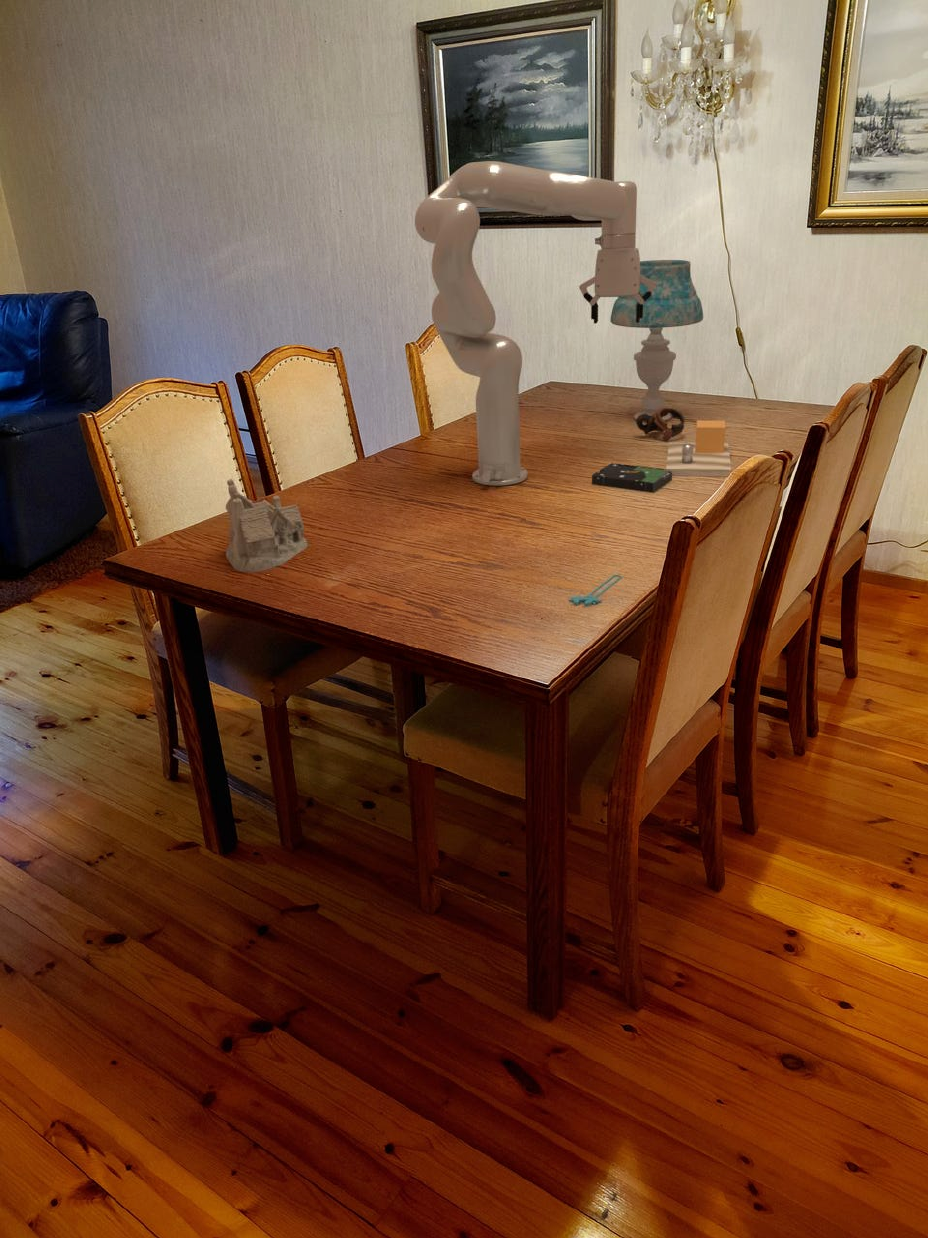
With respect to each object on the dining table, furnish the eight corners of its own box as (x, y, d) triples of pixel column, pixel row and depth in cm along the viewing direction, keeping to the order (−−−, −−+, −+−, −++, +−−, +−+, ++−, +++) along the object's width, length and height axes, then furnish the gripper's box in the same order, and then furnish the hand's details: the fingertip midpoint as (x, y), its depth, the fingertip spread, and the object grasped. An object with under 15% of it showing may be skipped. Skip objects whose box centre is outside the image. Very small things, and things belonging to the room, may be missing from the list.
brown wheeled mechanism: (672, 431, 240) (685, 407, 234) (676, 456, 234) (690, 432, 228) (629, 423, 238) (640, 398, 232) (632, 447, 232) (644, 423, 226)
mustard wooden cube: (723, 453, 213) (725, 427, 210) (695, 452, 215) (696, 427, 212) (723, 445, 219) (724, 420, 216) (695, 445, 220) (696, 420, 217)
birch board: (730, 476, 202) (731, 469, 201) (665, 475, 205) (666, 468, 204) (727, 449, 221) (728, 443, 220) (668, 448, 224) (668, 442, 223)
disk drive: (591, 487, 202) (654, 494, 195) (591, 475, 201) (655, 482, 194) (610, 474, 210) (672, 481, 202) (610, 462, 209) (673, 468, 201)
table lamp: (604, 410, 263) (606, 261, 245) (688, 406, 261) (696, 256, 244) (613, 431, 241) (616, 269, 224) (705, 427, 240) (715, 264, 223)
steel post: (692, 463, 207) (693, 446, 205) (681, 463, 207) (682, 446, 206) (692, 460, 209) (693, 443, 207) (681, 460, 209) (682, 443, 208)
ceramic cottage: (230, 575, 165) (221, 493, 159) (223, 548, 179) (215, 472, 174) (316, 566, 169) (311, 487, 164) (303, 540, 184) (298, 466, 178)
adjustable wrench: (593, 606, 145) (565, 599, 147) (593, 611, 145) (565, 605, 148) (631, 575, 155) (605, 569, 157) (631, 580, 155) (605, 574, 158)
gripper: (577, 245, 203) (577, 325, 211) (657, 242, 199) (654, 324, 207) (581, 242, 210) (581, 320, 217) (658, 239, 206) (655, 319, 213)
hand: (616, 322), depth 212 cm, fingers open, 9 cm apart
